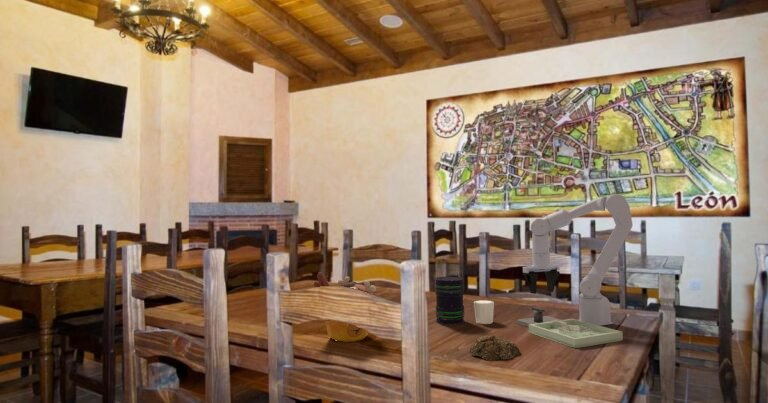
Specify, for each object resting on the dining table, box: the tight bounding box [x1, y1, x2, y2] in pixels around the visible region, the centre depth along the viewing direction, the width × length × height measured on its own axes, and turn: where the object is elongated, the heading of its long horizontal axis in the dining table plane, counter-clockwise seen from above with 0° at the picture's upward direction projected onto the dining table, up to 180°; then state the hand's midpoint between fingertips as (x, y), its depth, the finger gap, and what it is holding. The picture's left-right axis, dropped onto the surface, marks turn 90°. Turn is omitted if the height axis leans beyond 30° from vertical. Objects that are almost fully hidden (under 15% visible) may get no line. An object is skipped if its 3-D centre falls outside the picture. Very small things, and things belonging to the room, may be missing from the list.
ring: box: [552, 320, 591, 338], centre depth 144 cm, size 13×9×2 cm
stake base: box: [516, 306, 561, 328], centre depth 157 cm, size 13×11×6 cm
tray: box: [528, 318, 624, 349], centre depth 142 cm, size 18×19×2 cm
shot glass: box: [473, 299, 495, 325], centre depth 163 cm, size 7×7×7 cm
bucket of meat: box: [313, 272, 377, 343], centre depth 146 cm, size 20×16×20 cm
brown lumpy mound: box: [469, 334, 521, 361], centre depth 127 cm, size 13×12×5 cm
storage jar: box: [434, 275, 465, 326], centre depth 164 cm, size 10×10×15 cm
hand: (541, 292), depth 165 cm, fingers open, 7 cm apart
